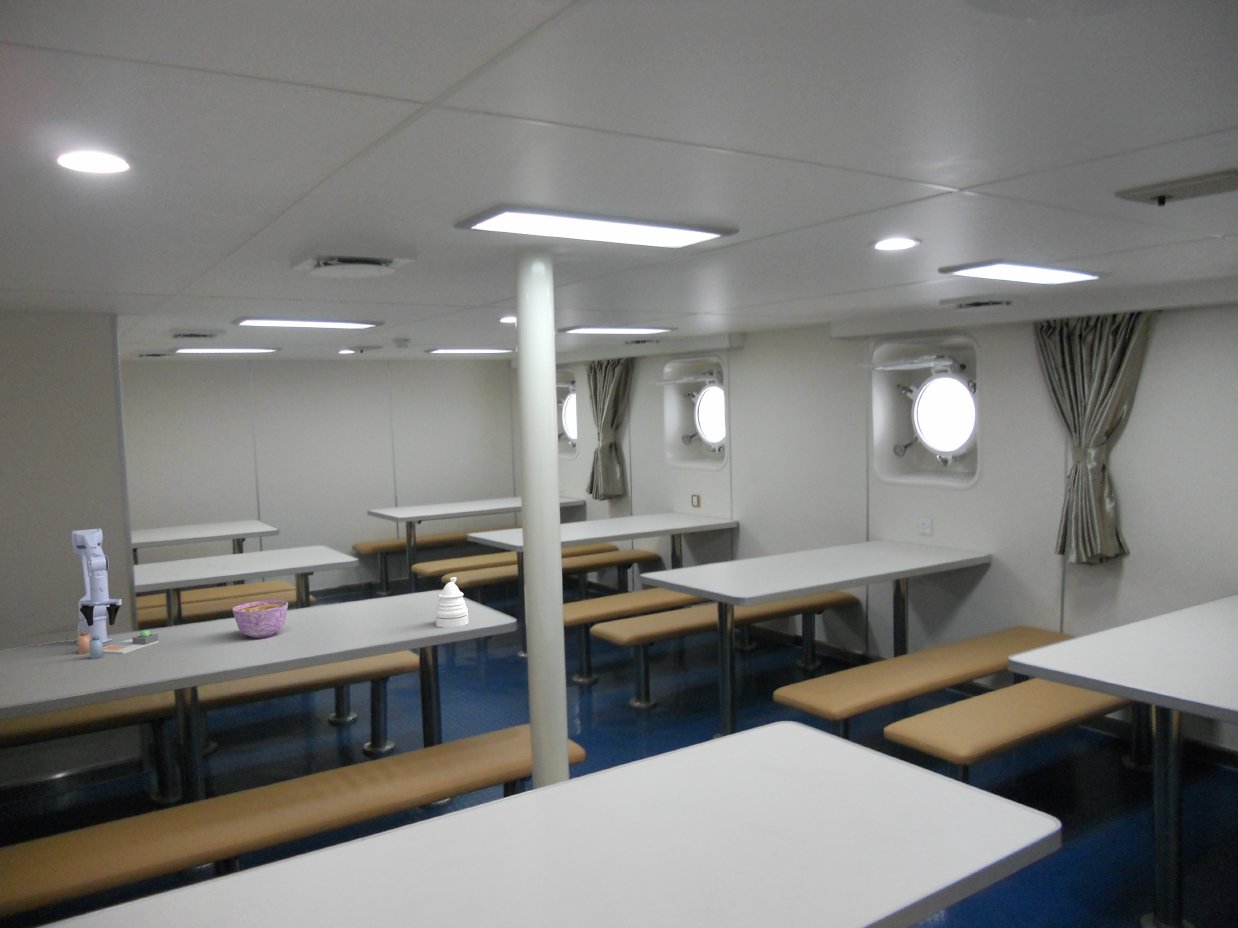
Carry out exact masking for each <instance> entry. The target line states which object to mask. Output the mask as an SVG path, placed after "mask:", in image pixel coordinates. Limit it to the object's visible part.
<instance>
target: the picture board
mask: <svg viewBox="0 0 1238 928" xmlns="http://www.w3.org/2000/svg"><path fill="white" fill-rule="evenodd" d="M131 638H132V639H130V638H129V639H126V640H122V641H119V642H116V643H112V644H109V645H106V646H103V654H104V653H105V654H128V653H129V652H133V651H135V650H138V649H142V648H145V647H148V646H151V645H154V644H157V643H159V640H160V639H159V634H158V633H157V634H156V633H150V636H148V637H141V634H140V635H136V636H134V637H131Z"/></svg>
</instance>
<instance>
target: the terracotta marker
mask: <svg viewBox="0 0 1238 928" xmlns="http://www.w3.org/2000/svg"><path fill="white" fill-rule="evenodd" d="M80 634H81V635H78V634H77V643H78V644H77V650H78V653H77V654H79V655H86V654H90V645H89V640H91V638H90V634H87V632H81V633H80Z"/></svg>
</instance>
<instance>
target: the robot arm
mask: <svg viewBox="0 0 1238 928" xmlns="http://www.w3.org/2000/svg"><path fill="white" fill-rule="evenodd" d="M70 534H71V544H72V545H71V546H72V551H73V554H75V555H79V559H80V561H81V568H82V575H83V583H84V592H85V595H83V596H82V597H81V598H80V599H79V600H78V601H77V606H78V607H77V612H78V618H79V620H80V621H79V622H78V624H77V631H76V632H77V636H78V635H81V634H80V633H81V632H87V634H90V638H91V640H92V637H95V636H99V638H102V640H103V644H104V643H106V642H110V641H112V640H113V638H111V637H109V638H108V632H107V631H108V629H107V619H108V624H109V626H113V625H115V624H116V617H117V615H118V612H119V610H120V608H121V606H122V604H123V603H122V598H110V595H109V579H108V571H109V569H110V566H109V565H110V562H109V561H110V560H109V558H108V555H106V554H104V551H103V549H102V548H103V547H102V546H103V542H104V541H103V539H104V537H103V530H102V529H101V528H100V527H98V528H93V529H92V528H90V529H79V530H72V531H71V533H70ZM75 644H76V645H78V642H76V643H75Z"/></svg>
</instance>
